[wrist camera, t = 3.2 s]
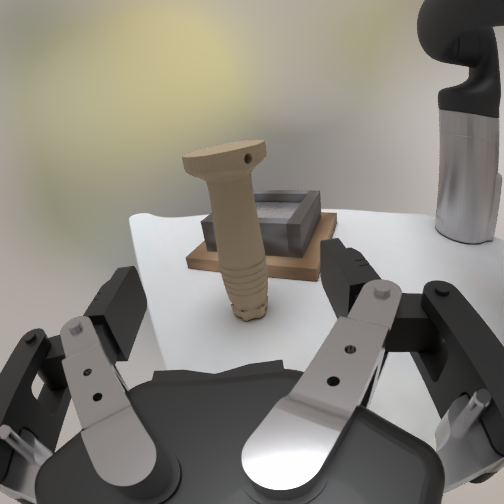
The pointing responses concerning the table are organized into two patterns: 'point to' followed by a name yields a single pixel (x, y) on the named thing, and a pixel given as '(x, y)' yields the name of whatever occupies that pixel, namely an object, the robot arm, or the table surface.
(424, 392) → the table surface
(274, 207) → the mottled stone tile
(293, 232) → the socket base
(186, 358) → the table surface
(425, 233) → the table surface
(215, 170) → the handle
